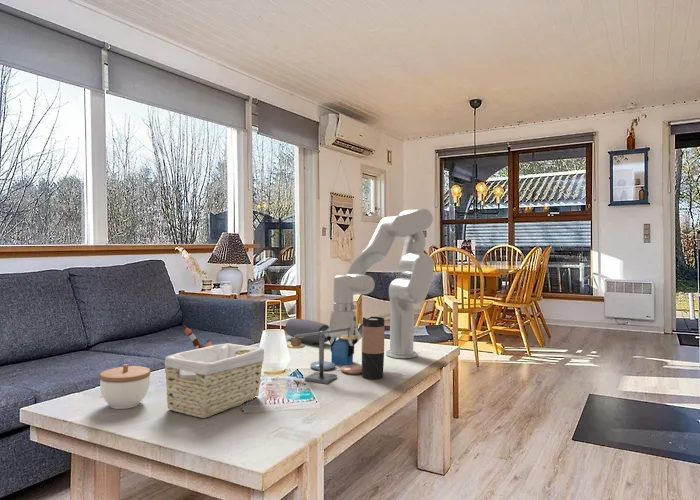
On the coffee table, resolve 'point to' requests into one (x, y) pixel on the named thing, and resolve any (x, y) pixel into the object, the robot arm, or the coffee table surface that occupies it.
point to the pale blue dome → (326, 365)
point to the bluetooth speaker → (305, 329)
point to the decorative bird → (195, 339)
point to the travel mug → (372, 348)
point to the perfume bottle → (341, 352)
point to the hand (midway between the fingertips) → (342, 354)
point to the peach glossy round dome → (352, 369)
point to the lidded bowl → (124, 385)
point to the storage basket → (212, 378)
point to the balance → (320, 353)
